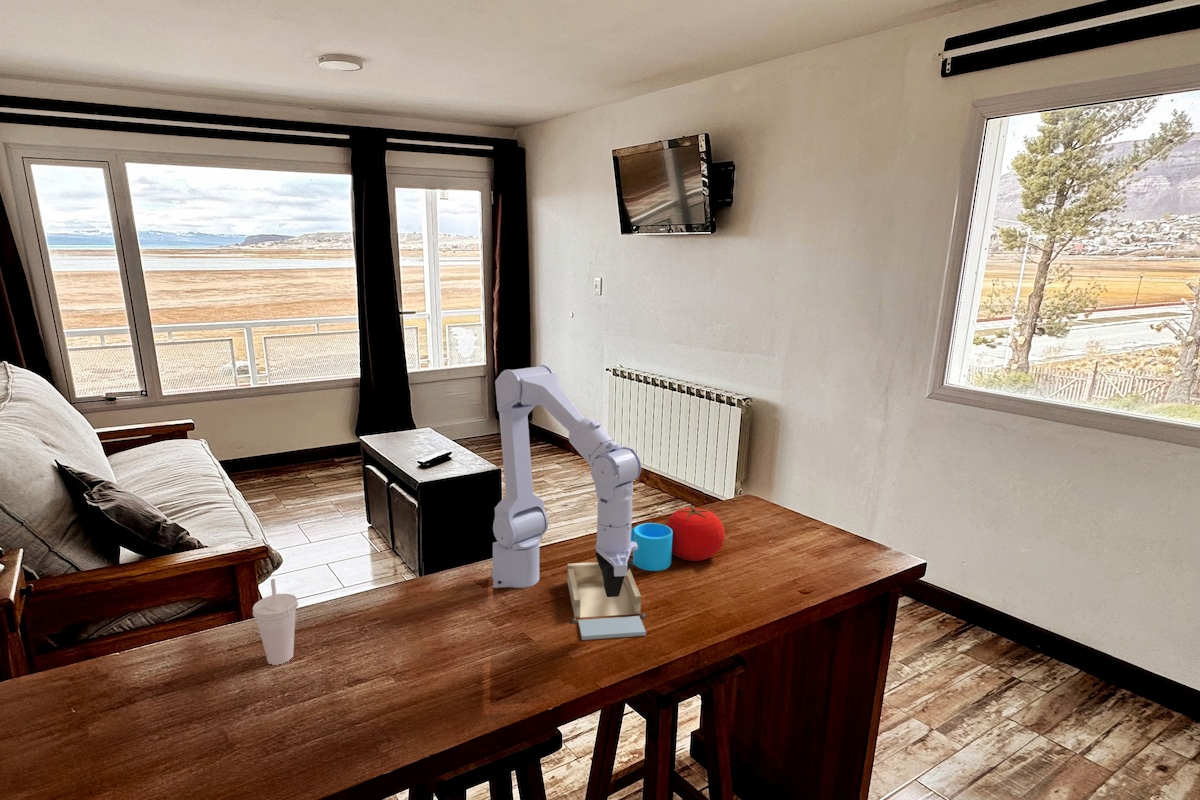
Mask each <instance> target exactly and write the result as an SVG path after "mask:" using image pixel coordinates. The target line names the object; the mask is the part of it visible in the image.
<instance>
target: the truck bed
mask: <svg viewBox="0 0 1200 800" xmlns="http://www.w3.org/2000/svg"><path fill="white" fill-rule="evenodd" d="M566 574H567V577H566V578H567V581H566V582H567V587H568V591H569V596H570V602H571V607H572V608H571V609H572V612H573V618H571V623H572V624H577V623H578V621H577V619H584V618H585V619H586V618H598V617H600V618H601V617H612V616H614V617H615V616H630V615H639V616H640V619H641V620H642V619H643V620H644V619H646V613H641V607H642V606H641V605H642V602H641V601H642V595H641V593H640V590H639V587H638V585H637V583H636V581H635V579H634V576H633V573H632V571H631V569H629V570H628V571H627V576H625V577H624V580H623V583H622V587H621V591H620V594H619V596H618V597H607V595H606V592H605V588H604V582H603V576H602V571H601V569H600V567H599V565H598V561H595V562H594V561H593V562H575V563H573V562H572V563H567V573H566Z"/></svg>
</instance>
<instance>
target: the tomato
mask: <svg viewBox="0 0 1200 800" xmlns="http://www.w3.org/2000/svg"><path fill="white" fill-rule="evenodd" d="M665 525H666V526H668V527H669V528H671V529H672V531H673V537H672V555H674V556H676V557H678V558H679V559H682V560H684V561H690V562H700V561H705V560H706V559H710V558H711V557H713V556H714V555H716V554H717V553H718V552H719V551H720V550H721V549H722V548H723V545H724V544H725V539H726V538H725V536H726V531H725V528H724V525H723V523H722V520H721V519H720V518H719V517H718V515H716V514H715V513H714V512H712V511H711V510H709V509H704V508H697V507H693V506H692V505H690V507H684V508H680V509H677V510H675V511H674V512H673V513H671V515H670V516H669V518H668V520H667V521H666V523H665Z"/></svg>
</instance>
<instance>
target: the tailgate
mask: <svg viewBox="0 0 1200 800" xmlns="http://www.w3.org/2000/svg"><path fill="white" fill-rule="evenodd" d="M577 623H578V627H579V632H580V638H581V640H582V641H590V640H601V639H603V640H605V639H616V638H617V639H618V638H629V637H630V638H631V637H644V636H646V635H647V631H646V629H645V626H644V623H643V621H642V619H641V617H640V615H633V616H630V615H629V616H617V617H615V616H614V617H600V618H587V619H586V618H585V619H584V618H583V619H578V621H577Z"/></svg>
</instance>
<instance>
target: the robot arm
mask: <svg viewBox="0 0 1200 800" xmlns="http://www.w3.org/2000/svg"><path fill="white" fill-rule="evenodd" d="M494 384H495V397H496V407H497V412H498V415H499V426H500V438H501V439H500V440H501V449H502V450H501V452H502V465H503V476H504V487H505V489H504V490H505V495H504V497H502V499H500V501H499V502H498V503H497V505H496V506H495V507H494V520H493V523H492V524H493V525H492V531H493V532H492V533H493V536H494V537H495V539H496V541H495V542H492V569H491V579H492V587H493V588H495V589H498V588H518V589H523V588H528V587H529V588H530V587H533V586H535V585H536V584H538V582H539V581H540V541H542V540H543V535H544V534H545V533H546V532H547V530H548V528H549V518H548V514H547V512H546V508H545V502H544V500H543V499H542V497H540V496H538V495H537V494H535V493H534V486H533V485H534V484H533V472H532V471H533V469H532V458H531V447H530V446H531V444H530V442H531V441H530V429H529V419H528V418H529V417H528V416H529V414H530V413H531V412H532V410H533V409H534V408H535V407H536V406H538V407H539V406H540V407H543V408H544V409H545V410H546V411H547V412H548V413H549V414H550V415H551V417H553V418H554V419H555V420H556V421H557V422H558V423H559V424H560V425H562V427H563V428H565V429H566V430H567V431H568V441H569V443H570V444H571V445H572V446H573V448H574V450H576V451H577V452H578V453H579V455H580V456H581V457H582V458H583V459H584V460H585V461H586V463H587V464H589V467H590V475H591V478H592V480H593V482H594V485H595V486H594V487H595V489H594V490H595V493H596V496H597V520H596V523H597V525H596V542H595V551H596V552H595V557H596V562H598V565H599V567H600V569H601V571H602V576H603V582H604V588H605V592H606V595H607V597H618V596H619V594H620V591H621V587H622V583H623V580H624V577H625V576H627V571H628V570H629V569H630V568H631V567H632V565H633V561H632V559H631V558H630V556H631V553H632V552H633V550H637V549H638V545H637V543H636V542H631V530H632V522H633V520H632V519H633V518H632V517H633V516H632V515H633V496H634V495H633V493H634V492H633V491H634V481H636V480H637V479H638V478H639V477H640V475H641V472H642V463H641V460H640V458H639V456H638V454H637V452H636V451H635V450H634V449H633V448H632V447H630V446H623V445H622V444H621V443H617V441H615V440H614V439H613V438H612V437H611V435H609V434H608V433H607V432H606V430H605V429H604V428H603V427H602V426H601V423H600V422H599V421H598V420H597V419H594V418H591V417H590V418H584V416H583V415H582V414H581V412H580V411H579V410H578V409H577V407H576V405H574V403H573V402H572V401H571V400H570V399H569V397H568V396H567V394H566V393H565V392H564V391H563V390H562V388H561V387H560V379H559V376H558V375H557V374H556V373H554V370H553V369H552V368H551V367H550V366H548V365H545V364H541V365H538V366H533V367H532V366H530V367H525V368H524V367H523V368H517V369H504V370H503V371H501V372H500V374H499V375H498V377H497V378H496V379H495V381H494ZM630 570H631V569H630Z"/></svg>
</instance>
